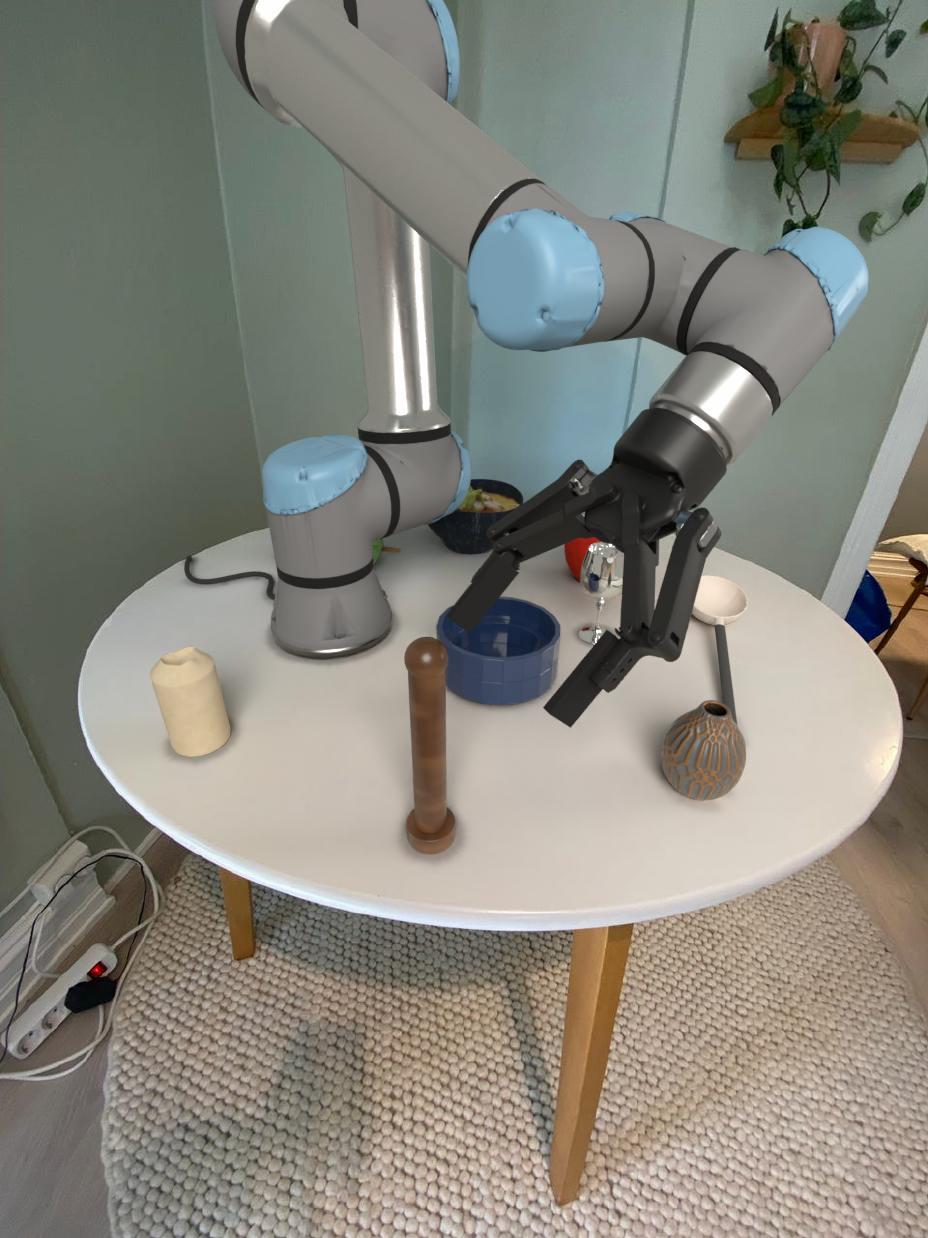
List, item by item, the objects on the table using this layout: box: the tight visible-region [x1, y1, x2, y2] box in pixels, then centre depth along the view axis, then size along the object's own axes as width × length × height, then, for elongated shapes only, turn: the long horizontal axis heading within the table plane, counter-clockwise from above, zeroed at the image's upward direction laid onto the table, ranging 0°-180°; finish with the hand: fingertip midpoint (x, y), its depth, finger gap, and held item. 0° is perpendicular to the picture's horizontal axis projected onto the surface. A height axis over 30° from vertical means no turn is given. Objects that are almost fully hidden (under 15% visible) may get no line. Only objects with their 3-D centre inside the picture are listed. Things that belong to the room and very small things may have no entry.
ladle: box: [691, 574, 749, 726], centre depth 72 cm, size 8×31×4 cm, turn 165°
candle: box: [149, 646, 231, 758], centre depth 57 cm, size 6×6×10 cm
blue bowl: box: [435, 596, 562, 706], centre depth 68 cm, size 14×14×6 cm
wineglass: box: [578, 542, 624, 646], centre depth 74 cm, size 6×6×12 cm
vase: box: [660, 699, 747, 801], centre depth 53 cm, size 7×7×9 cm
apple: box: [563, 536, 601, 582], centre depth 89 cm, size 9×9×8 cm
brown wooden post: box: [403, 636, 456, 855], centre depth 45 cm, size 4×4×19 cm
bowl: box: [427, 478, 524, 555], centre depth 99 cm, size 17×17×10 cm
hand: (501, 666), depth 44 cm, fingers open, 13 cm apart
